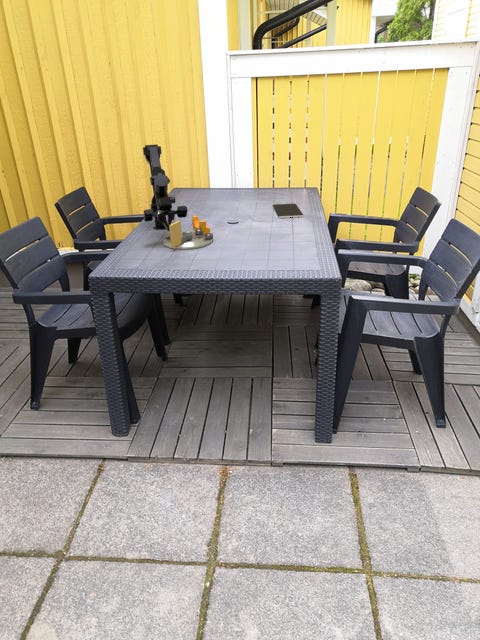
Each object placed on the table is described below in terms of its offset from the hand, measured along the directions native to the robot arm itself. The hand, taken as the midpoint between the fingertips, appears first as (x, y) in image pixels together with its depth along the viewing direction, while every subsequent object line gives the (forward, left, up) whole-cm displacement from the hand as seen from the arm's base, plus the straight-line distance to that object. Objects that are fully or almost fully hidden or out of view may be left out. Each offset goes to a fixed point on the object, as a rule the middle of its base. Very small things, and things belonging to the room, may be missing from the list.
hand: (169, 230), depth 206 cm
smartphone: (-69, +37, -8) cm, 79 cm away
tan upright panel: (-3, +4, -6) cm, 8 cm away
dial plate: (-8, +5, -7) cm, 12 cm away
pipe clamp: (-25, +5, -8) cm, 26 cm away
